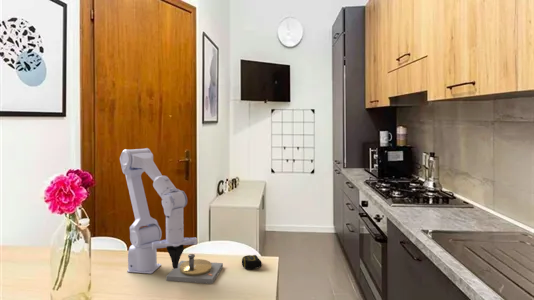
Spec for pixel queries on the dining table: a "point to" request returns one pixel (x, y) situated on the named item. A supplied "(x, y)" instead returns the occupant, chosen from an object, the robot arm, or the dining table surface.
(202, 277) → the stand
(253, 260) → the tape measure
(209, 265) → the brass disc with crank
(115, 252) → the dining table surface
